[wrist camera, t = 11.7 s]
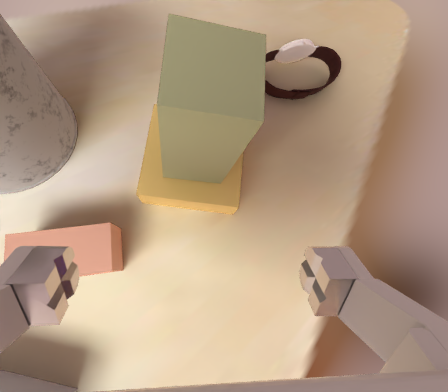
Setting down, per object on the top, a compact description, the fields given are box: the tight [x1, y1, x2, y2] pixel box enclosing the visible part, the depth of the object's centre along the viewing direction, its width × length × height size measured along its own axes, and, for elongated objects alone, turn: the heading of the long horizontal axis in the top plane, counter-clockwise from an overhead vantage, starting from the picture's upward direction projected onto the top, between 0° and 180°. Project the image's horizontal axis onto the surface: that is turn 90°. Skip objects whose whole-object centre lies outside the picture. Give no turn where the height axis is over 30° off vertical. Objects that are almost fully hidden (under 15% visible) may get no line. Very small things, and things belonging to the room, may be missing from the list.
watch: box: [265, 39, 341, 99], centre depth 23 cm, size 8×5×4 cm, turn 103°
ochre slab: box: [136, 104, 244, 214], centre depth 21 cm, size 7×7×3 cm
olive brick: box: [157, 14, 266, 184], centre depth 15 cm, size 4×4×9 cm
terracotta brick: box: [4, 223, 123, 277], centre depth 18 cm, size 6×3×3 cm, turn 98°
